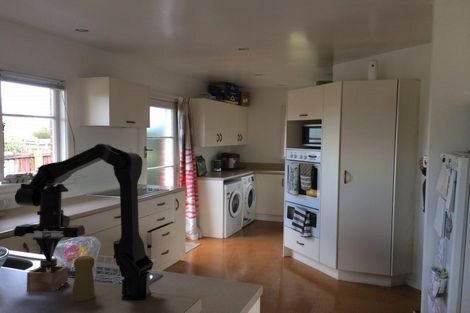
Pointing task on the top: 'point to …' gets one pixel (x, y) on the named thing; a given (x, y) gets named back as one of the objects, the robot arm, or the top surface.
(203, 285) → the top surface
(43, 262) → the plunger
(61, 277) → the wooden box
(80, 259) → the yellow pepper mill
